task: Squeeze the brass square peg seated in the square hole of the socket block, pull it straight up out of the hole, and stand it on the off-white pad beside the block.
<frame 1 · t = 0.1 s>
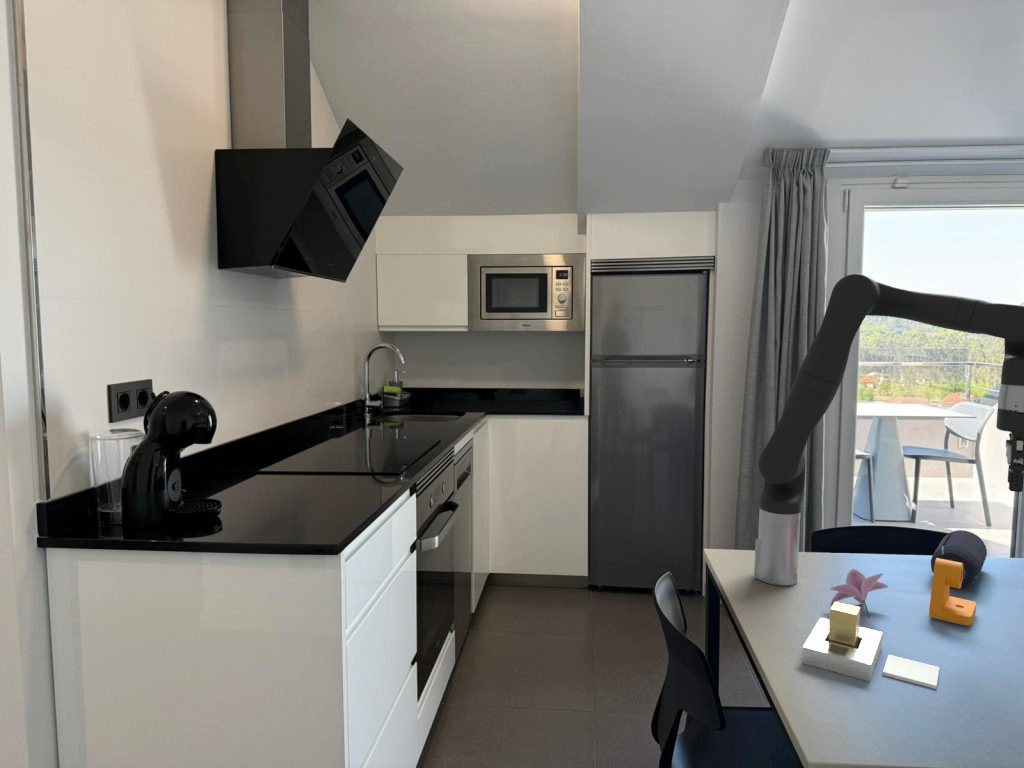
hand: (1014, 487, 137), 29 cm above the table, tool pointing down, fingers open, 8 cm apart
bracket: (952, 618, 144), on the table
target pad: (911, 672, 120), on the table
portable speaker: (958, 578, 169), on the table
lily: (857, 610, 148), on the table
brass peg: (842, 655, 126), resting in socket block
socket block: (842, 654, 126), on the table
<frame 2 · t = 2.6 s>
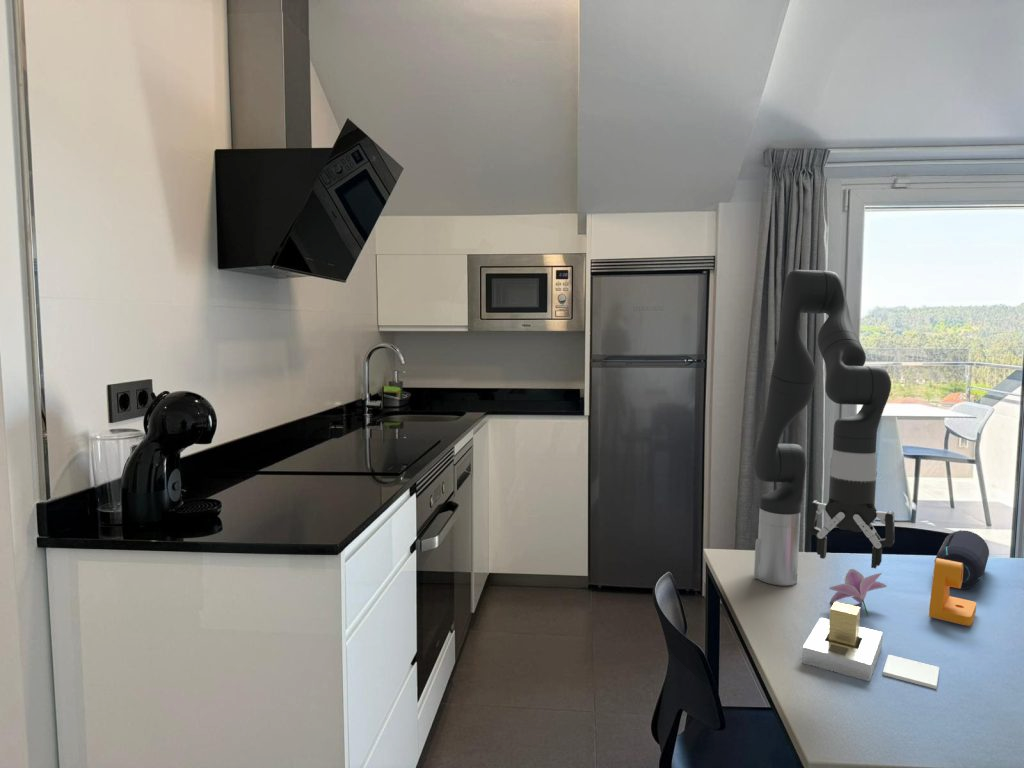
hand: (848, 562, 125), 18 cm above the table, tool pointing down, fingers open, 8 cm apart
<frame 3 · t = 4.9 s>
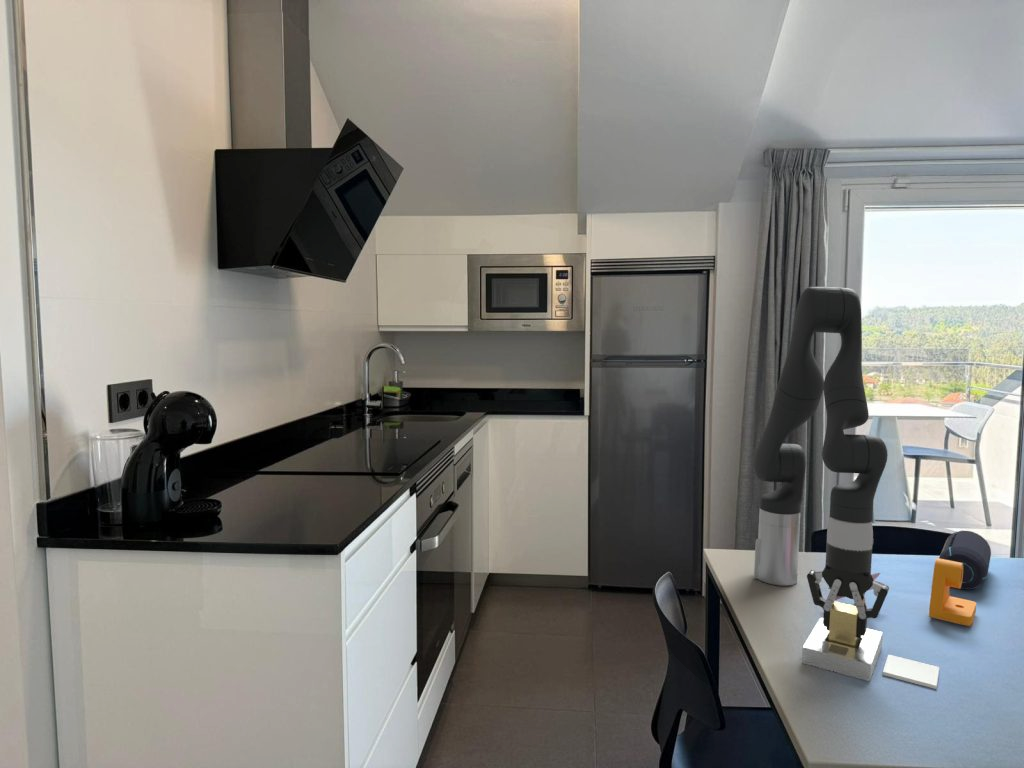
hand: (844, 632, 126), 4 cm above the table, tool pointing down, fingers closed on brass peg, 4 cm apart
brass peg: (842, 655, 126), resting in socket block, touching gripper
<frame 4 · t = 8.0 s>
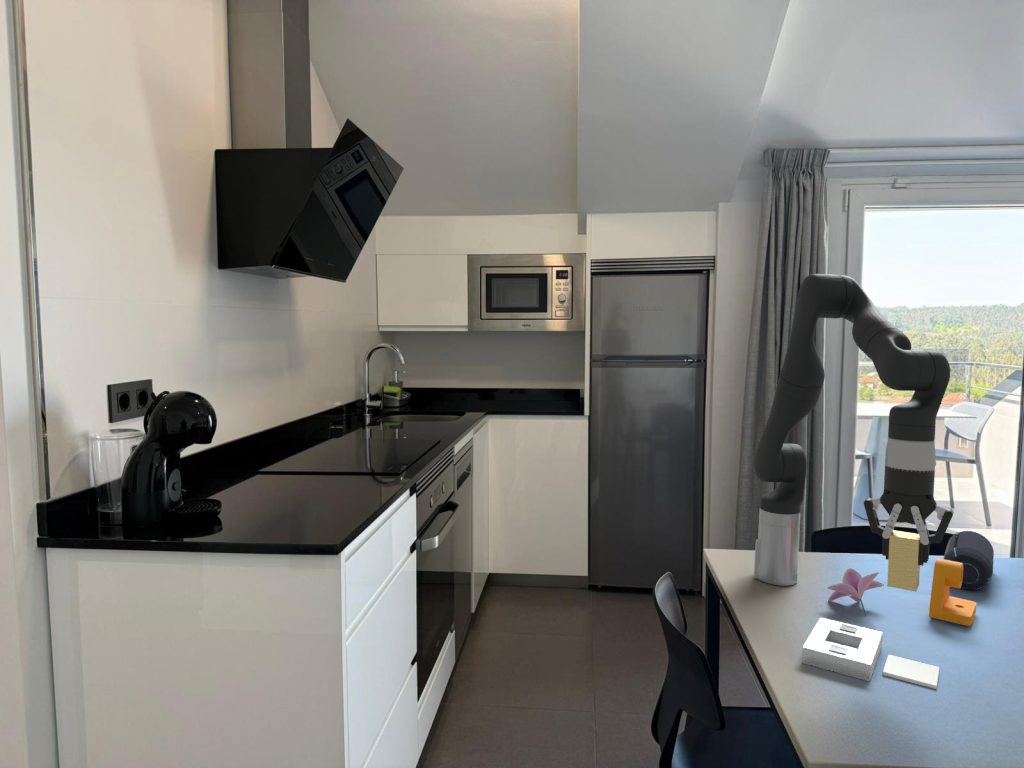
hand: (904, 561, 119), 20 cm above the table, tool pointing down, fingers closed on brass peg, 4 cm apart
brass peg: (903, 585, 119), point 16 cm above the table, touching gripper
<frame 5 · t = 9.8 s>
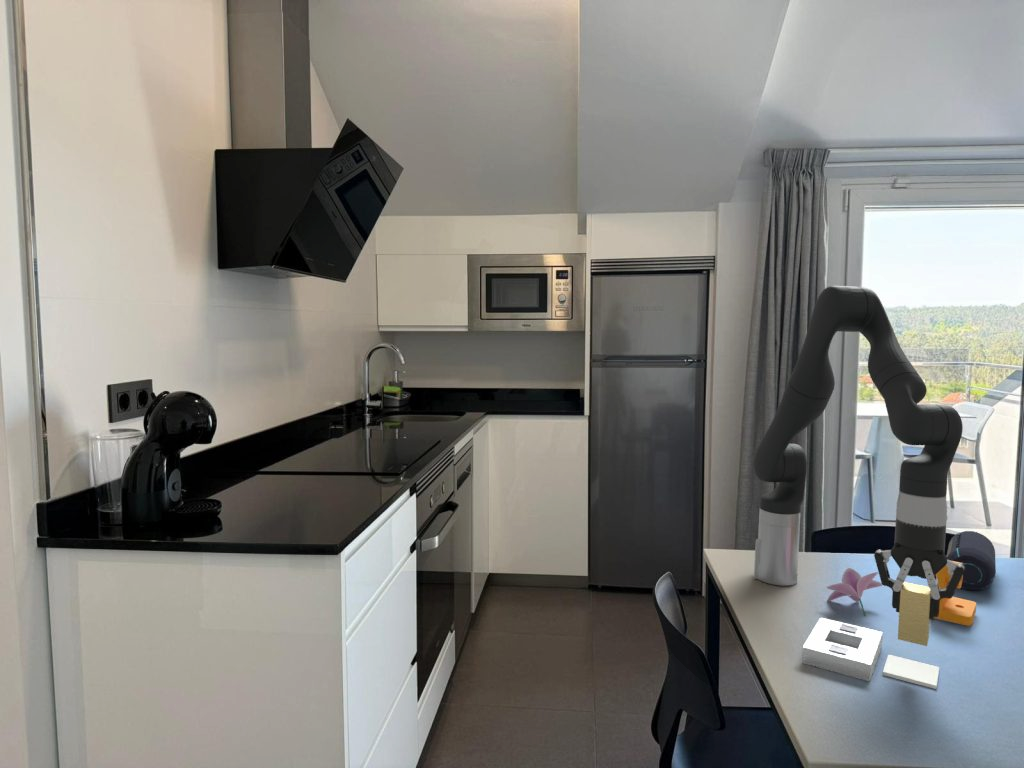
hand: (915, 614, 119), 11 cm above the table, tool pointing down, fingers closed on brass peg, 4 cm apart
brass peg: (913, 638, 119), point 6 cm above the table, touching gripper
when the fingers open (6 cm above the table, at t = 11.5 s): brass peg drops 1 cm, resting on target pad.
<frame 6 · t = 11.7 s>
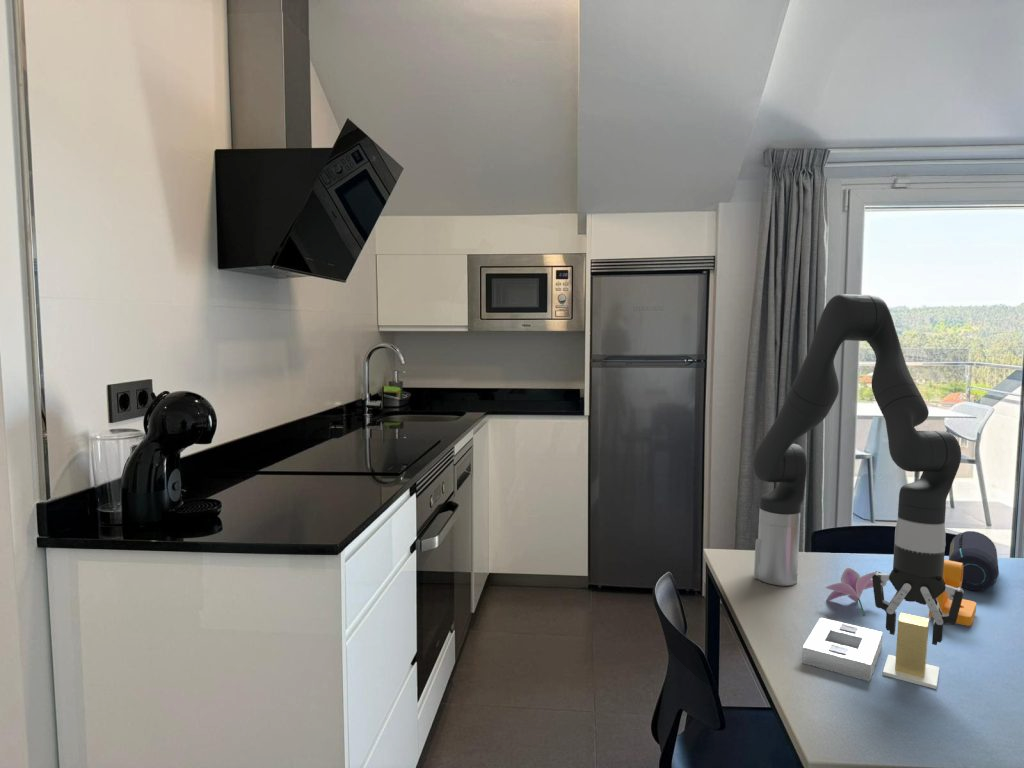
hand: (913, 637, 119), 6 cm above the table, tool pointing down, fingers open, 6 cm apart
brass peg: (910, 669, 120), point 1 cm above the table, touching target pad
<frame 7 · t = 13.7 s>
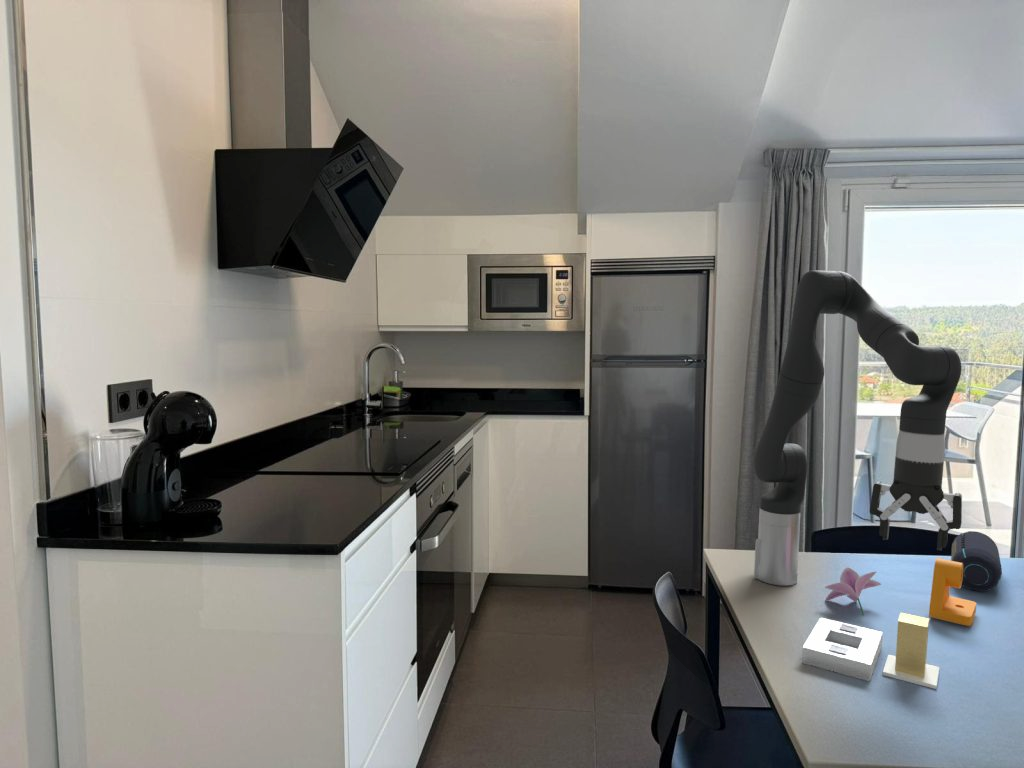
hand: (912, 543, 124), 21 cm above the table, tool pointing down, fingers open, 8 cm apart
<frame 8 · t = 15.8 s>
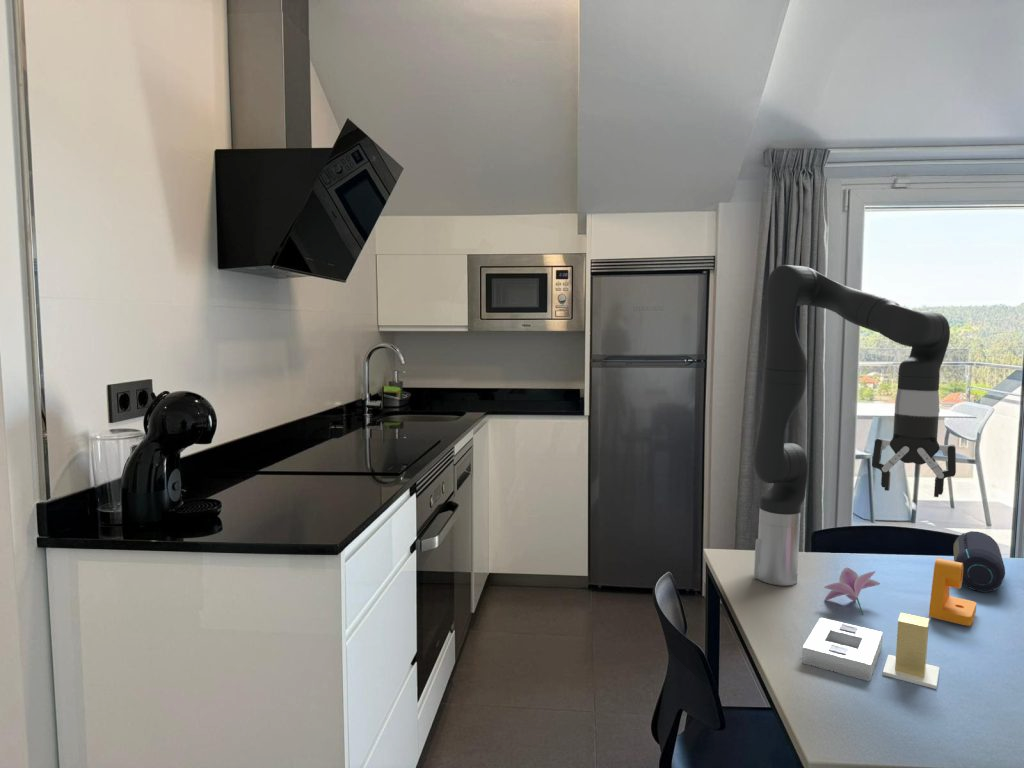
hand: (911, 493, 135), 28 cm above the table, tool pointing down, fingers open, 8 cm apart
at the end: brass peg 0.1 cm off-centre on the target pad, point 0.6 cm above the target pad's base; brass peg tilted 0°; the gripper is holding nothing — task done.
